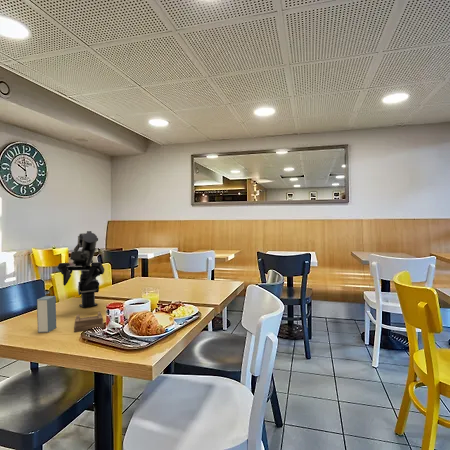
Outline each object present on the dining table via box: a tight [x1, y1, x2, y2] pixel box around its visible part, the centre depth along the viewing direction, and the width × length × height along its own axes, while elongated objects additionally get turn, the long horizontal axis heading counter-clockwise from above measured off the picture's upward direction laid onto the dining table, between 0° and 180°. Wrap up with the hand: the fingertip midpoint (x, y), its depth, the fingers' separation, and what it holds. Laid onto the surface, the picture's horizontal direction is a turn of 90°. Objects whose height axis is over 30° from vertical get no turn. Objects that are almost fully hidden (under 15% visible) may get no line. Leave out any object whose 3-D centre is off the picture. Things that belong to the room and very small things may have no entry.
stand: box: [73, 311, 105, 333], centre depth 119 cm, size 12×10×4 cm
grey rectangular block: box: [36, 295, 57, 334], centre depth 115 cm, size 5×4×12 cm
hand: (74, 284), depth 131 cm, fingers open, 9 cm apart
